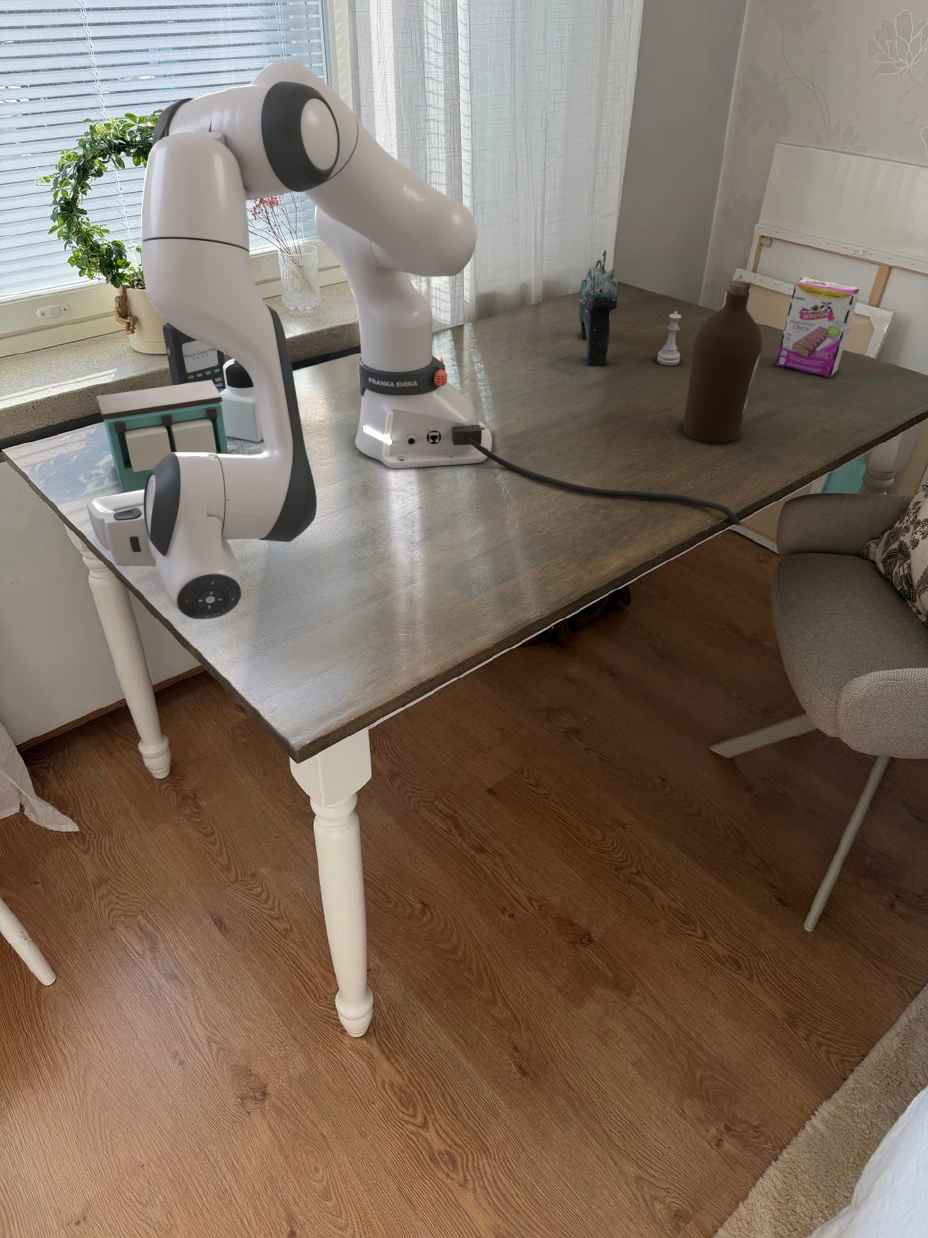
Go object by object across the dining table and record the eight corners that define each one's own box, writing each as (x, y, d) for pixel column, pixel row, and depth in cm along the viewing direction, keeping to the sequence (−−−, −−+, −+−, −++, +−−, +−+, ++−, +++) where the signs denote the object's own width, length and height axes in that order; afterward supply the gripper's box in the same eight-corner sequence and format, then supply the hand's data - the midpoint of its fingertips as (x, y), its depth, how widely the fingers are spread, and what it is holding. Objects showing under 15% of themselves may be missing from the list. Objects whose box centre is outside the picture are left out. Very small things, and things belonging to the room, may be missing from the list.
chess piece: (662, 355, 185) (670, 305, 179) (682, 360, 183) (691, 310, 177) (653, 362, 182) (660, 311, 176) (673, 367, 180) (681, 316, 174)
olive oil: (686, 445, 153) (715, 293, 138) (673, 418, 161) (698, 272, 146) (749, 445, 153) (784, 294, 138) (732, 418, 162) (763, 273, 147)
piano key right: (217, 457, 136) (212, 424, 133) (179, 464, 134) (173, 430, 131) (212, 448, 139) (207, 414, 136) (174, 454, 137) (168, 420, 134)
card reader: (185, 415, 158) (170, 329, 149) (174, 407, 160) (158, 322, 151) (232, 401, 163) (220, 317, 154) (221, 394, 165) (209, 311, 156)
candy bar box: (774, 366, 182) (794, 281, 172) (781, 358, 186) (801, 275, 176) (831, 379, 177) (854, 293, 168) (838, 371, 181) (861, 286, 171)
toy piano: (235, 477, 141) (224, 401, 133) (121, 497, 135) (103, 419, 128) (221, 450, 148) (210, 376, 140) (112, 468, 142) (94, 393, 135)
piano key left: (173, 465, 134) (167, 431, 131) (134, 472, 132) (126, 437, 129) (169, 455, 137) (163, 421, 134) (130, 461, 135) (123, 427, 132)
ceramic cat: (611, 369, 179) (624, 263, 167) (578, 368, 179) (589, 262, 167) (600, 333, 195) (612, 234, 183) (570, 332, 195) (579, 233, 183)
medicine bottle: (279, 425, 156) (272, 356, 148) (258, 443, 150) (250, 372, 143) (242, 418, 157) (233, 350, 150) (220, 435, 152) (210, 365, 145)
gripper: (263, 491, 114) (237, 445, 124) (91, 524, 107) (78, 472, 117) (268, 535, 118) (243, 486, 128) (102, 569, 111) (89, 514, 121)
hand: (163, 479), depth 123 cm, fingers closed
